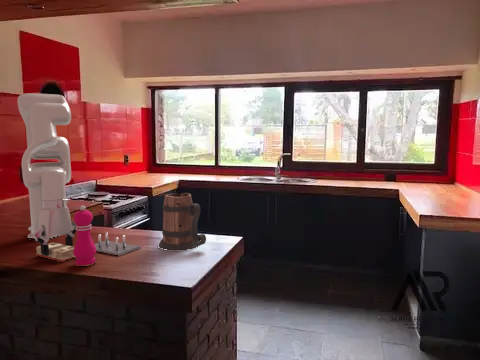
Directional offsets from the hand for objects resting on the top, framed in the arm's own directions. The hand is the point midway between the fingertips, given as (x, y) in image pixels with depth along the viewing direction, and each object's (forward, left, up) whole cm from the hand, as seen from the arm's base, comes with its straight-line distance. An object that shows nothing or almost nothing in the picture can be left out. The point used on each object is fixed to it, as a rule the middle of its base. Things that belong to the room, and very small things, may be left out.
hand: (57, 251), depth 142 cm
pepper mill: (+15, -1, -2) cm, 15 cm away
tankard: (+32, +32, -2) cm, 45 cm away
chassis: (+10, +16, -2) cm, 19 cm away
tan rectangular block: (0, 0, -2) cm, 2 cm away
